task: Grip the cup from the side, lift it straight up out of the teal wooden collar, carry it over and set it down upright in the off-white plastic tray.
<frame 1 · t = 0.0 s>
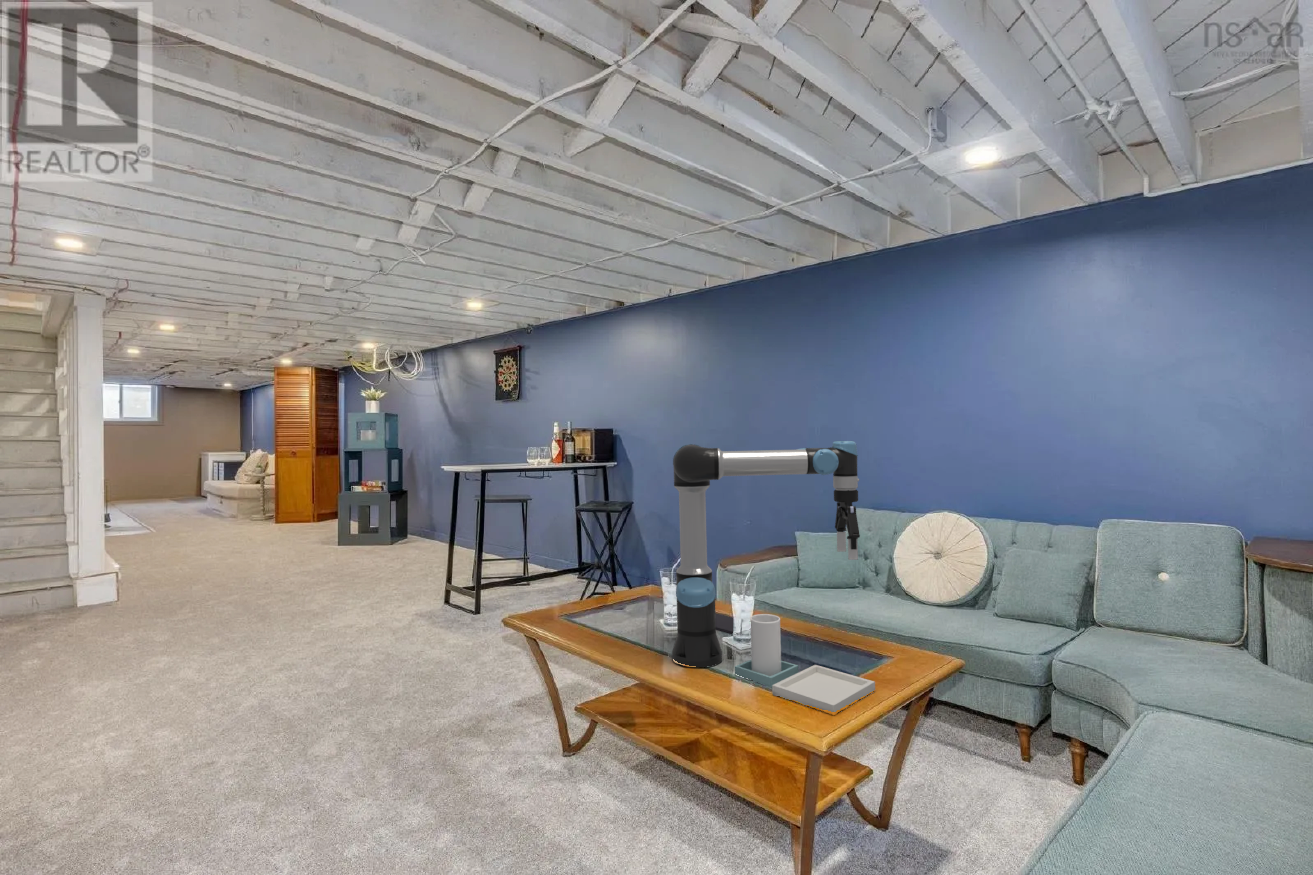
hand: (847, 555, 205), 28 cm above the table, tool pointing down, fingers open, 13 cm apart
collar: (766, 674, 179), on the table
cup: (766, 675, 179), resting in collar
dark upright panel: (722, 626, 228), on the table
tray: (823, 693, 166), on the table
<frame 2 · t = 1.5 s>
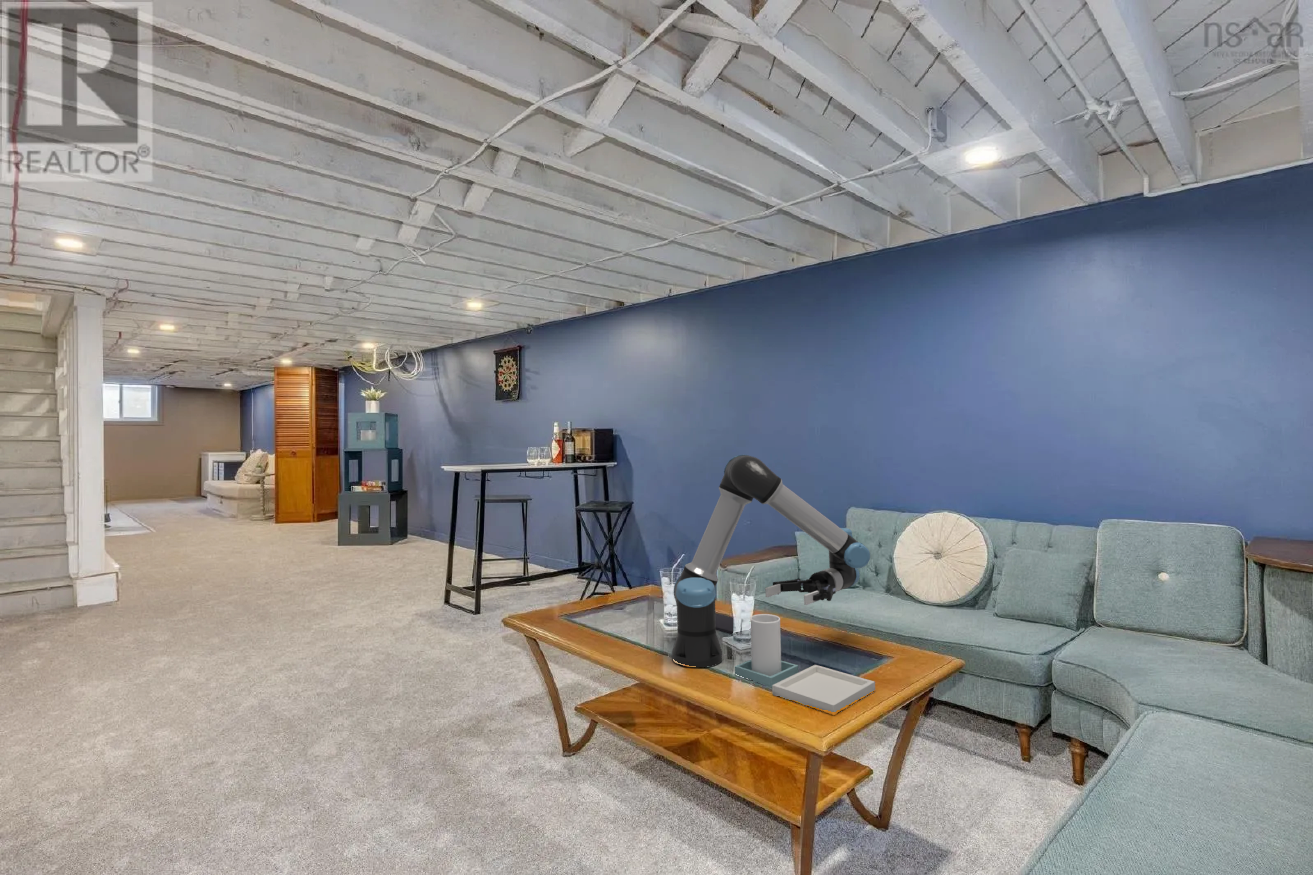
hand: (785, 596, 186), 20 cm above the table, tool horizontal, fingers open, 13 cm apart
nothing on the table moved.
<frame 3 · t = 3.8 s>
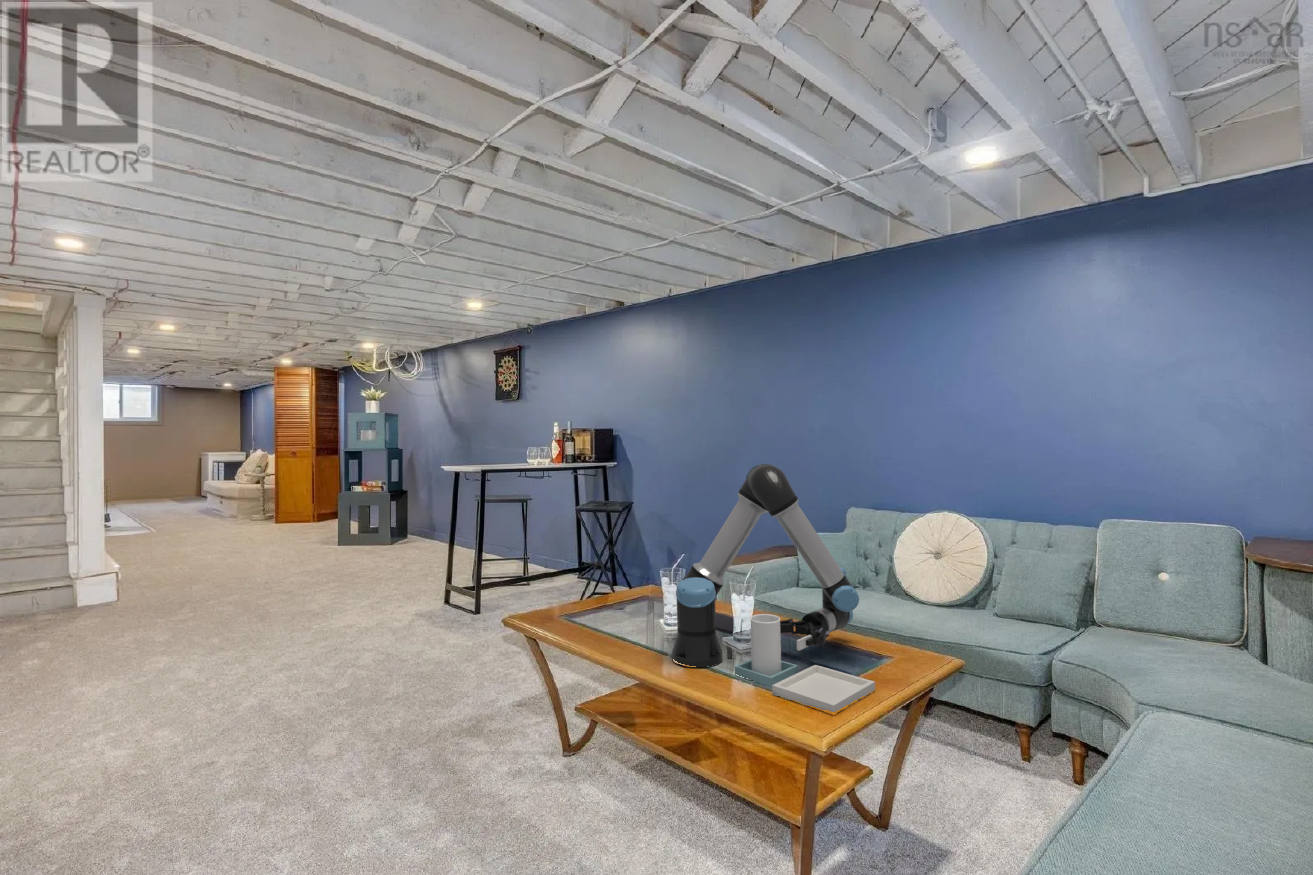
hand: (777, 640, 182), 9 cm above the table, tool horizontal, fingers open, 13 cm apart
nothing on the table moved.
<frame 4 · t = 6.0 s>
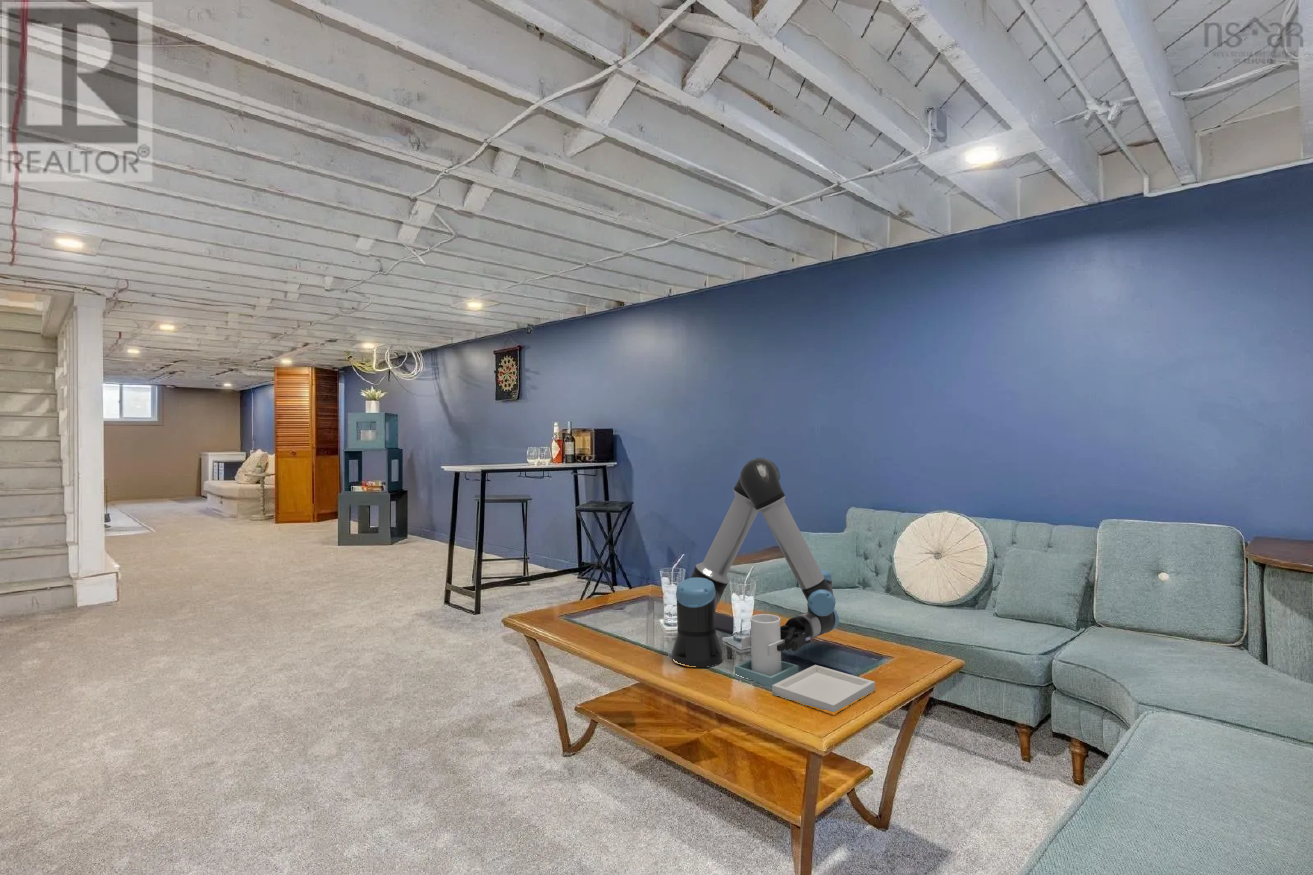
hand: (755, 646, 176), 9 cm above the table, tool horizontal, fingers closed on cup, 8 cm apart
cup: (766, 675, 179), resting in collar, touching gripper
everything else where it was.
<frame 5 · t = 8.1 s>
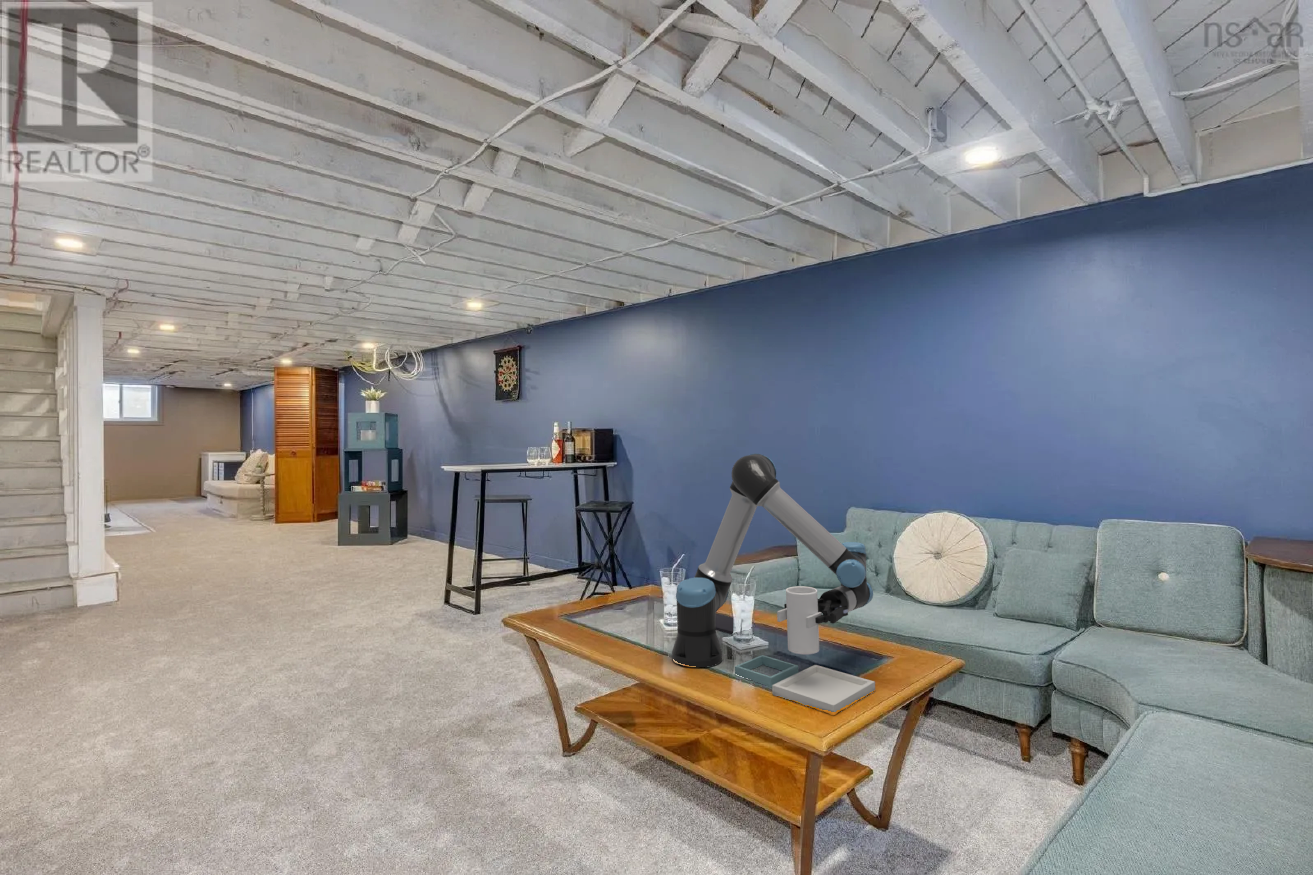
hand: (792, 619, 168), 19 cm above the table, tool horizontal, fingers closed on cup, 8 cm apart
cup: (803, 650, 172), point 9 cm above the table, touching gripper
everything else where it was.
when the fingers open (11 cm above the table, at t = 10.3 s): cup stays where it is, resting on tray.
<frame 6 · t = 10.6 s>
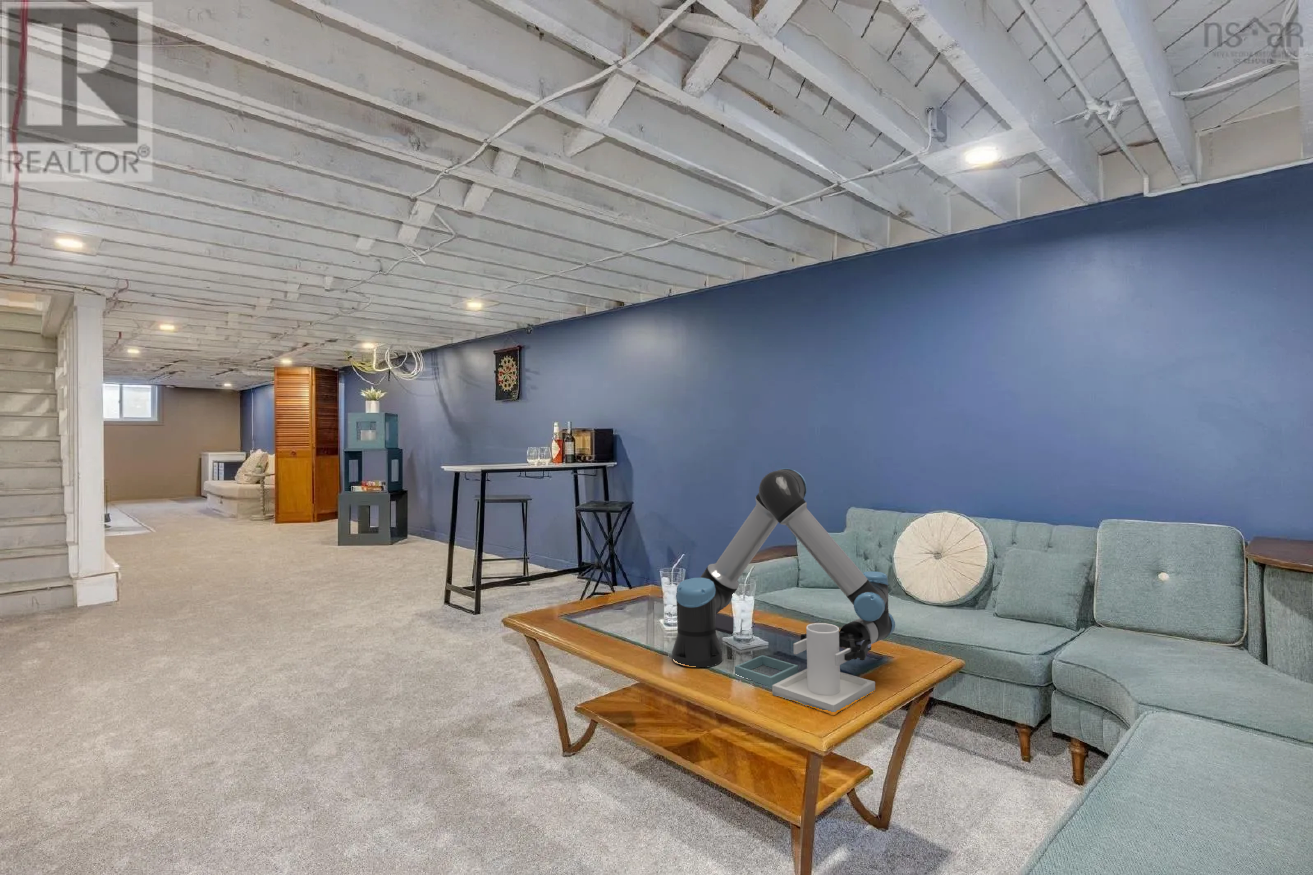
hand: (814, 654, 163), 11 cm above the table, tool horizontal, fingers open, 11 cm apart
cup: (823, 689, 166), point 1 cm above the table, touching tray
everything else where it was.
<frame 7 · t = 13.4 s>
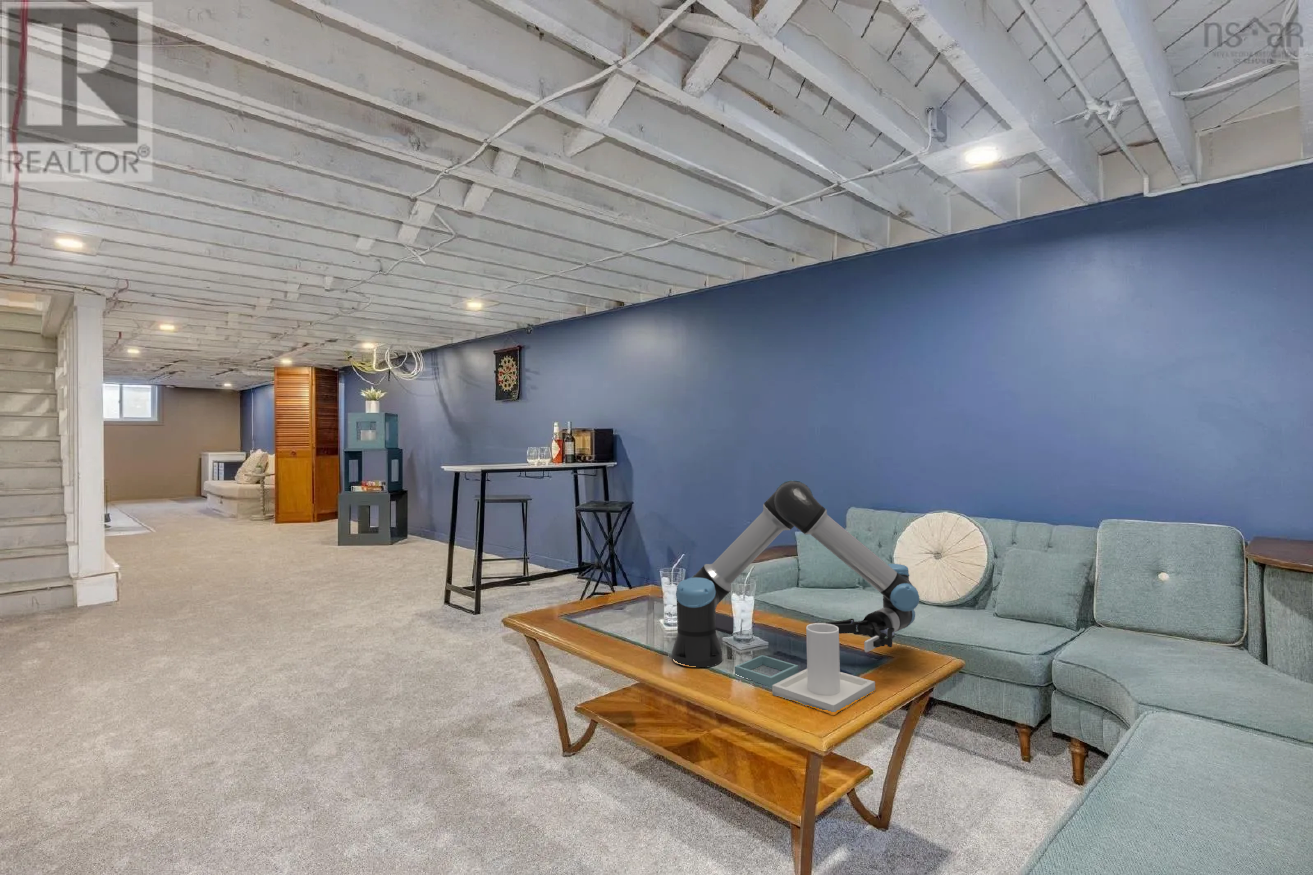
hand: (842, 641, 173), 11 cm above the table, tool horizontal, fingers open, 13 cm apart
nothing on the table moved.
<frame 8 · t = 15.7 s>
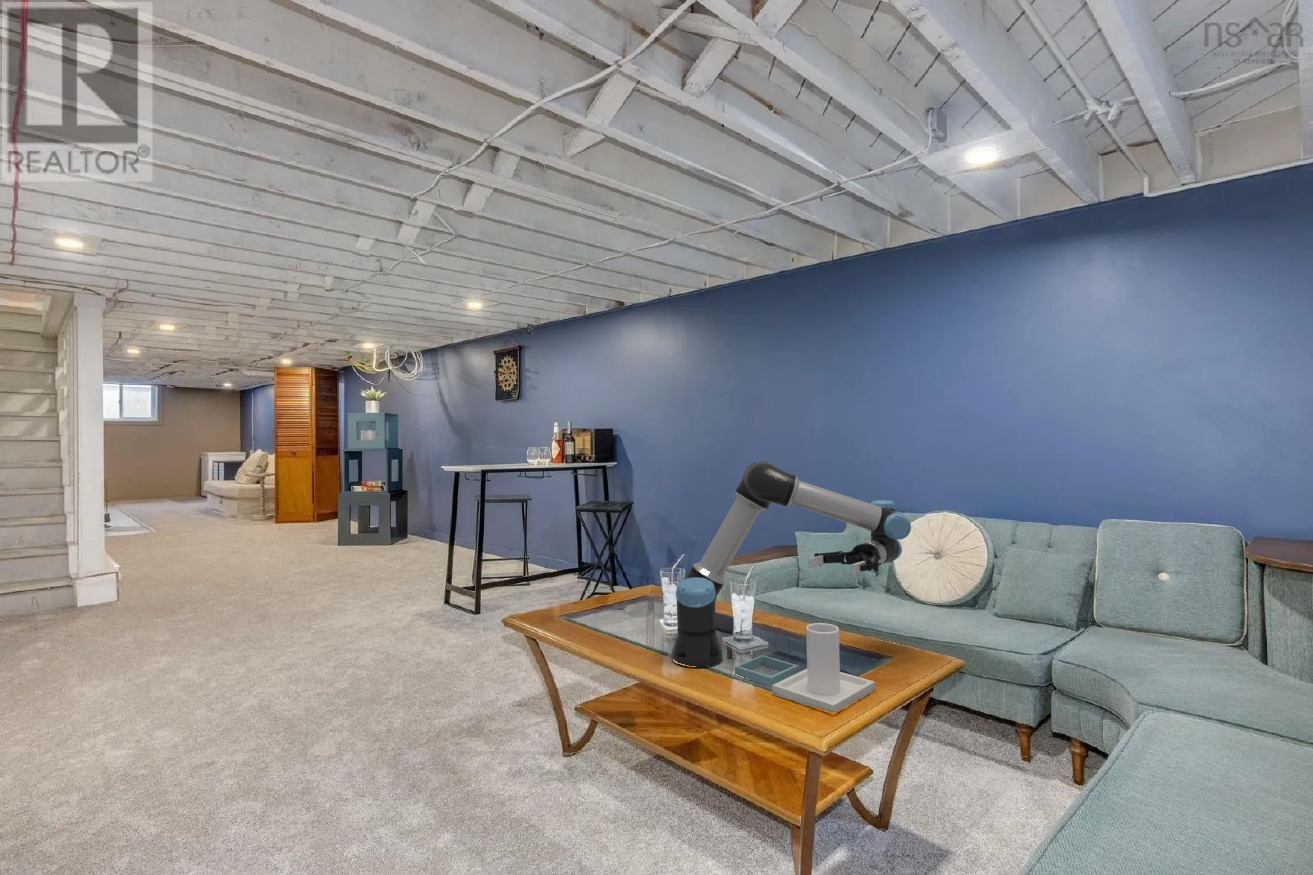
hand: (830, 566, 179), 30 cm above the table, tool horizontal, fingers open, 13 cm apart
nothing on the table moved.
at the end: cup inside the target area on the tray (0.1 cm from its centre), point 0.8 cm above the tray's base; cup tilted 0°; the gripper is holding nothing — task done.
